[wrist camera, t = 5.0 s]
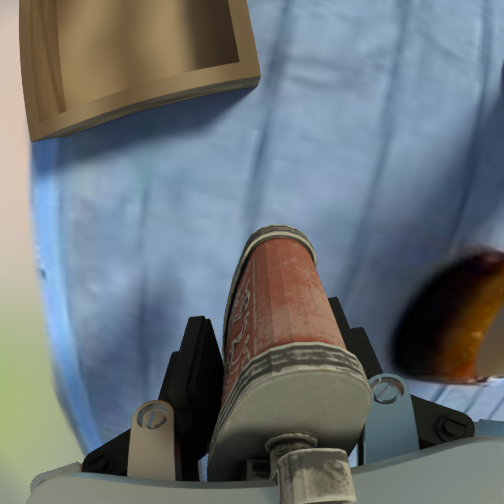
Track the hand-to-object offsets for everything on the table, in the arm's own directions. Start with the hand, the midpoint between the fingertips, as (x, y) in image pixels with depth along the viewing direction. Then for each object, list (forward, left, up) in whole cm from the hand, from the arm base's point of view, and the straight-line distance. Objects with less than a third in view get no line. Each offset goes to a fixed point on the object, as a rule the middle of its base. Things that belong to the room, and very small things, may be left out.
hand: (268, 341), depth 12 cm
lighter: (0, 0, -2) cm, 2 cm away
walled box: (+6, -18, -13) cm, 23 cm away
